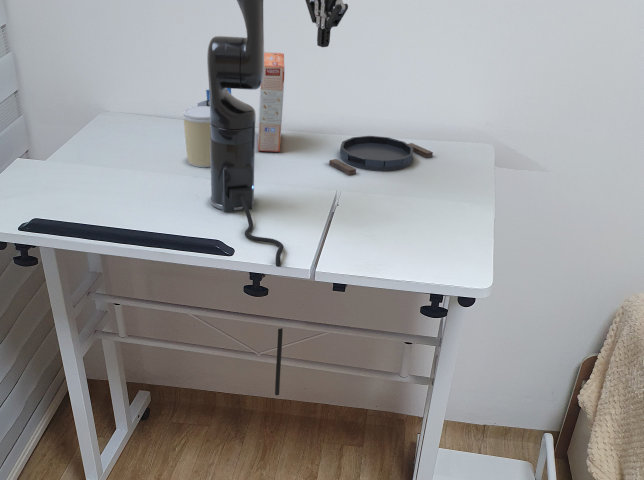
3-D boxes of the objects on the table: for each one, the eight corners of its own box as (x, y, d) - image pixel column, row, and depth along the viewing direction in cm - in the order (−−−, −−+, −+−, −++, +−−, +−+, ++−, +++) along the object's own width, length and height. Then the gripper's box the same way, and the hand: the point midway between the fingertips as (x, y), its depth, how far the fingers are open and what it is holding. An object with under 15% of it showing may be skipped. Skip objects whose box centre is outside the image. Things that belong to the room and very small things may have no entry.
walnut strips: (432, 156, 184) (433, 152, 183) (349, 175, 172) (349, 170, 171) (411, 147, 189) (411, 142, 189) (329, 164, 177) (329, 160, 176)
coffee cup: (225, 156, 180) (225, 106, 173) (219, 169, 172) (219, 118, 165) (188, 153, 180) (186, 104, 173) (181, 167, 173) (179, 116, 166)
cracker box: (281, 153, 183) (285, 65, 170) (257, 152, 183) (259, 64, 170) (281, 135, 194) (284, 52, 182) (258, 134, 194) (261, 51, 182)
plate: (424, 167, 178) (426, 156, 176) (358, 174, 173) (360, 163, 171) (390, 143, 191) (392, 133, 190) (328, 149, 186) (329, 139, 185)
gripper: (296, -46, 153) (292, 41, 164) (334, -38, 145) (327, 54, 155) (324, -48, 157) (319, 38, 167) (363, -40, 148) (354, 51, 158)
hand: (323, 46), depth 161 cm, fingers closed
